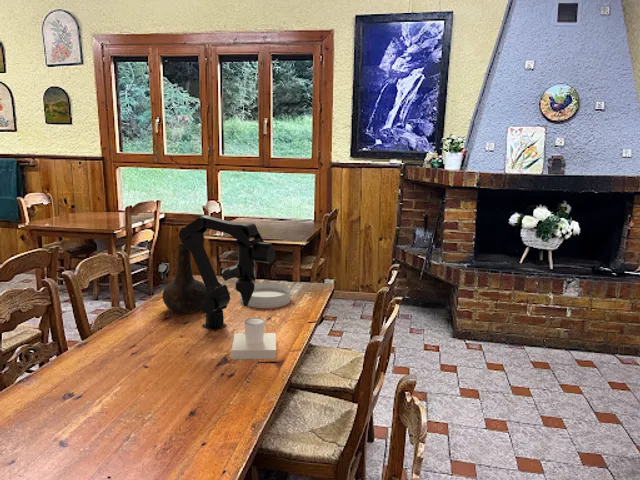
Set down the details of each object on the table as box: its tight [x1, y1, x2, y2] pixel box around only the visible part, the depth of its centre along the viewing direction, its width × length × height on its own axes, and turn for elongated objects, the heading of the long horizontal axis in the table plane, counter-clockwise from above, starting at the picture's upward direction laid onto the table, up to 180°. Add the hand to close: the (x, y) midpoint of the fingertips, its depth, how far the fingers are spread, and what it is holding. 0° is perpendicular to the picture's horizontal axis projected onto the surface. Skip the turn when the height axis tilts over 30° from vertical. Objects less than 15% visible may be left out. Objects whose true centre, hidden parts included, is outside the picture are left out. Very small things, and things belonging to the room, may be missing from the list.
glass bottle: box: [162, 241, 206, 315], centre depth 192 cm, size 18×18×28 cm
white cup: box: [243, 317, 266, 345], centre depth 158 cm, size 7×7×7 cm
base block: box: [231, 332, 277, 360], centre depth 159 cm, size 14×14×3 cm
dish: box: [239, 281, 291, 309], centre depth 211 cm, size 22×22×5 cm
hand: (246, 302), depth 170 cm, fingers open, 9 cm apart
